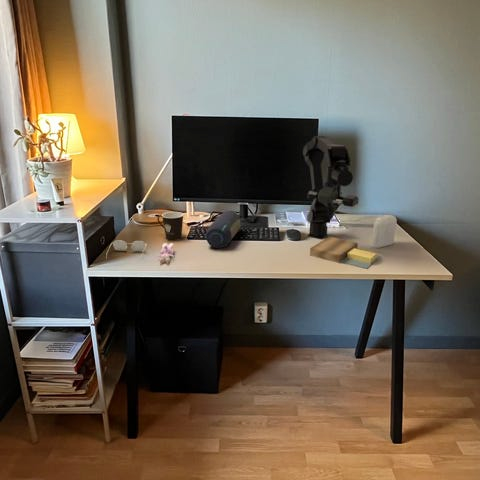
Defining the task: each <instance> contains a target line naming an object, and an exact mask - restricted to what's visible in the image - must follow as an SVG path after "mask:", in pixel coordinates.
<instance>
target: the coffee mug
mask: <svg viewBox="0 0 480 480" xmlns="http://www.w3.org/2000/svg"><path fill="white" fill-rule="evenodd" d="M160 218H162V223H163V224H162V223H161V221H160ZM157 222H158V224H159V225H160V226H161V227H162V228H163V229H164V234H165V235H164V236H165V239H166V240H167V241H172V242H174V241H179V240H181V239H182V236H183V222H184V213H183V212H180V211H179V212H178V211H169V212H164V213H162V214H161V215H158V216H157Z"/></svg>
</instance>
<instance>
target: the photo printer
mask: <svg viewBox="0 0 480 480" xmlns="http://www.w3.org/2000/svg"><path fill="white" fill-rule="evenodd" d="M397 222H398V220H397V218H396V216H395V215H392V214H385V215H382V216H379V217H378V218H377V219H376V220H375V222H374V227H372V228H373V230H372V237H371V247H373V248H376V249H378V248H384V247H387V246H390V245H394V244H395V239H396V238H395V236H396V228H397Z"/></svg>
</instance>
